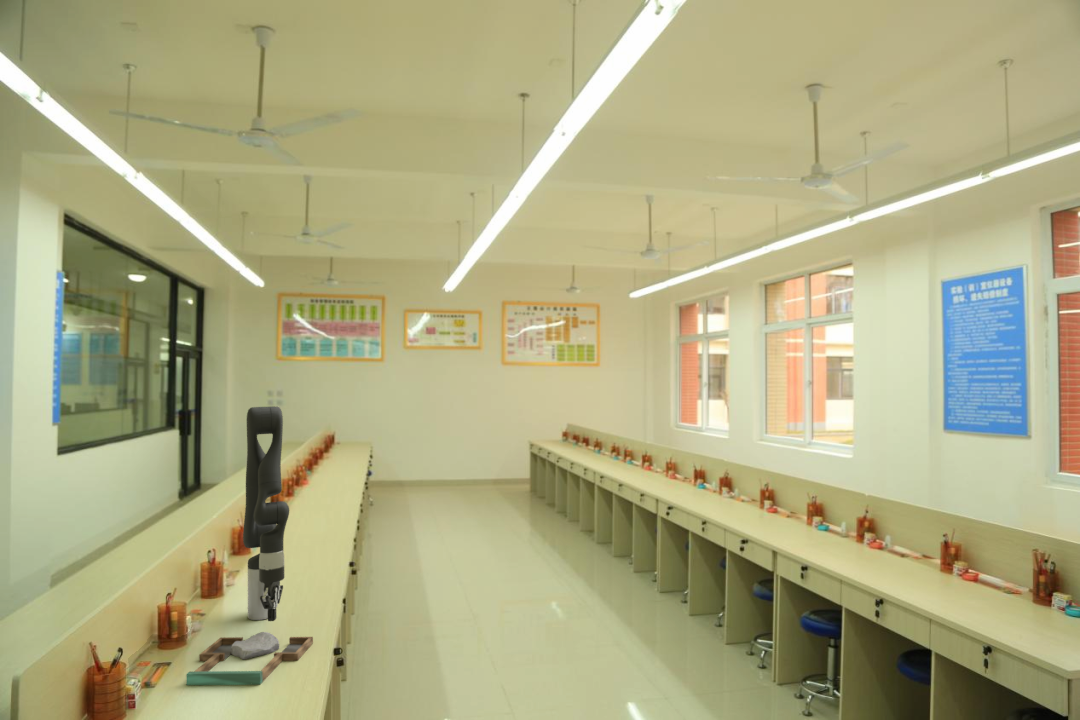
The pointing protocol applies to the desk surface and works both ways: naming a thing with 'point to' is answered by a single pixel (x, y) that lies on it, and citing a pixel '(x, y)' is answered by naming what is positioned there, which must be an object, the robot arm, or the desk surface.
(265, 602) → the robot arm
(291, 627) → the desk surface
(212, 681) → the trap lane
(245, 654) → the stone block
